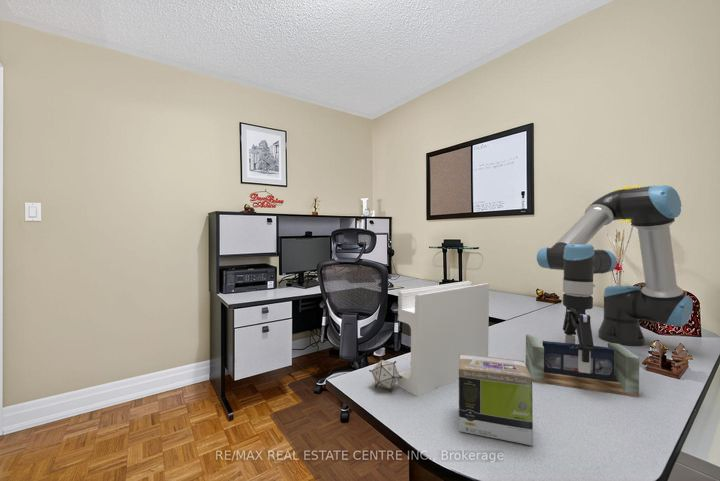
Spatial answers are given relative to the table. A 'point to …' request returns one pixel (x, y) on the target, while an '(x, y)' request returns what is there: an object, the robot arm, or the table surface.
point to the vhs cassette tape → (566, 361)
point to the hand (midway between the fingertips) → (576, 363)
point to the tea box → (495, 398)
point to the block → (442, 331)
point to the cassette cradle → (623, 378)
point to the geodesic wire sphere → (385, 374)
